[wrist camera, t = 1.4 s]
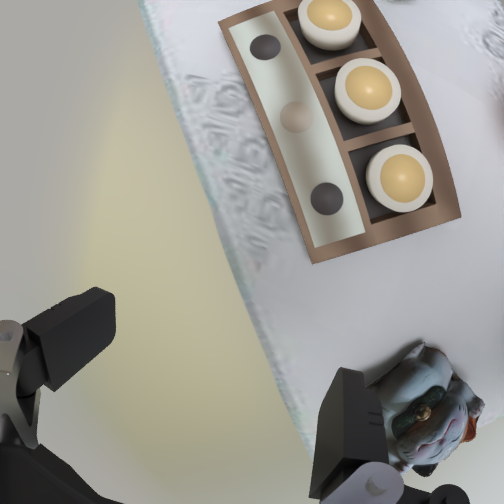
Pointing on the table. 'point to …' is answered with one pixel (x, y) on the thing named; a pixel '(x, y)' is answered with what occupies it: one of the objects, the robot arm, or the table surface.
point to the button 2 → (399, 178)
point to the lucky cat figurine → (425, 410)
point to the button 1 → (329, 23)
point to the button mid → (366, 91)
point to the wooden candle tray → (335, 128)
